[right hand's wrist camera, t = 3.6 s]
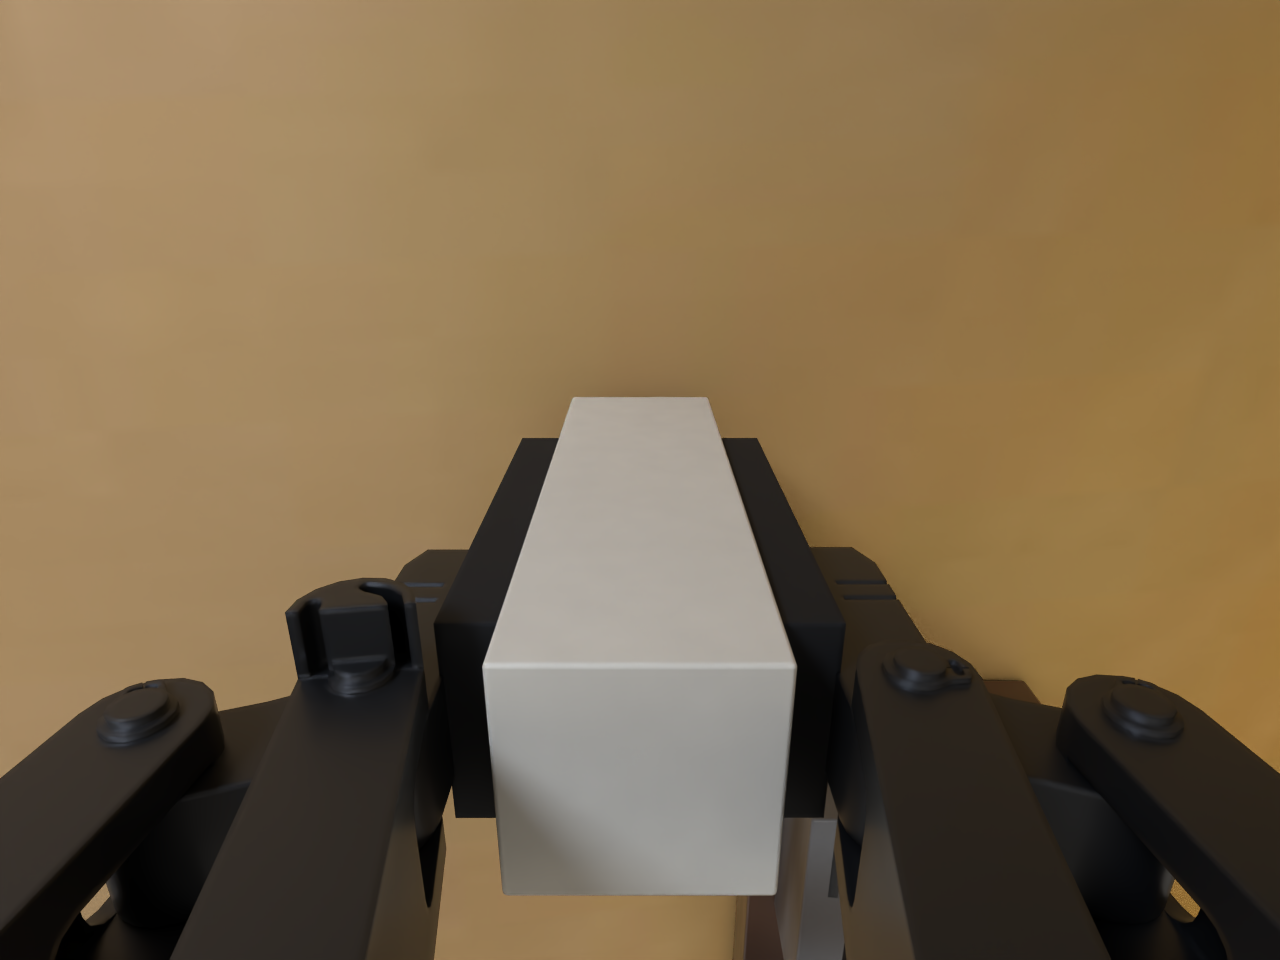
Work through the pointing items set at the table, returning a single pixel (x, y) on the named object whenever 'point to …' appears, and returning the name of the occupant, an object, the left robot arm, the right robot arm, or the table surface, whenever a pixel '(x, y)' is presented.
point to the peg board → (809, 886)
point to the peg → (639, 669)
